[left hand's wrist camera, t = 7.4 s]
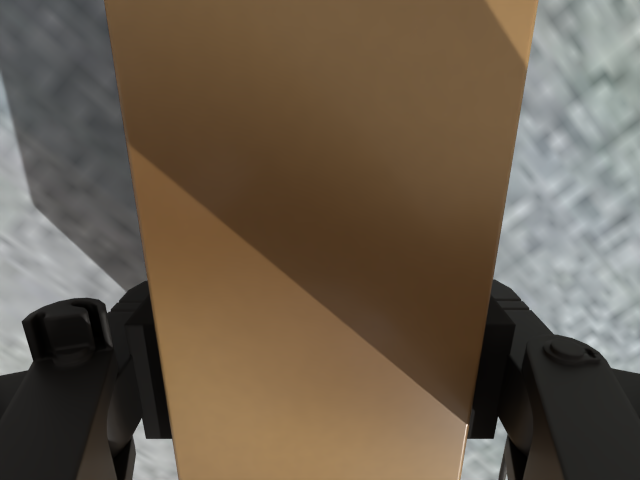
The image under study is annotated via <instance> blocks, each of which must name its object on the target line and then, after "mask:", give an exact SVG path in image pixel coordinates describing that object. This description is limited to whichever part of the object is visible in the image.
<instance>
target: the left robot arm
mask: <svg viewBox="0 0 640 480" xmlns="http://www.w3.org/2000/svg"><path fill="white" fill-rule="evenodd" d="M22 324H23V328H24V331H25V335H26V338H27V341H28V345H29V348H30V351H31V355H32V358H33V363H32V365H31V366H30V368H29V370H27V371H23V372H18V373H12V374H7V375H2V376H0V480H132V477H133V470H134V463H135V457H136V451H135V444H134V439H133V433H134V432H135V430H136V428H137V426H138V424H139V422H140V420H141V418H142V420H143V425H144V430H145V436H146V439H172V434H171V427H170V421H169V414H168V408H167V401H166V395H165V389H164V382H163V376H162V369H161V363H160V356H159V350H158V344H157V337H156V331H155V324H154V318H153V312H152V305H151V299H150V292H149V286H148V281H144V282H143V283H141V284H139V285H137V286H135V287H134V288H132V289H130V290H129V291H128V292H127V293H126V294H125V295H124V296H123V297H122V298H121V299H120V300H119V303H117V304H116V305H115V306H114V307H113V308H112V309H111V312H108V313H107V311H106V306H105V304H104V303H103V302H101V301H100V300H97V299H92V298H74V299H69V300H63V301H58V302H56V303H53V304H50V305H47V306H44V307H42V308H40V309H38V310H36V311H34V312H32V313H31V314H29V315H28V316H27V317H26V318H25V319H24V320H23V321H22ZM498 417H499V419H500V420H501V422H502V424H503V426H504V428H505V430H506V432H507V433H508V435H507V439H506V444H505V449H504V454H503V458H502V463H501V468H500V473H499V480H505V478H506V474H507V476H508V480H640V374H638V373H633V372H628V371H622V370H617V369H613V368H611V367H610V366H609V364H608V362H607V360H606V359H605V358H604V357H603V356H602V355H601V354H600V353H599V352H598V351H597V350H595V349H593V348H592V347H590V346H589V345H587V344H585V343H583V342H580V341H578V340H575V339H573V338H569V337H565V336H560V335H554V334H553V333H552V332H551V331H550V330H549V329H548V328H547V327H546V325H545V324H544V323H543V322H542V321H541V320H540V319H539V318H538V317H537V316H536V315H535V314H534V313H533V312H532V310H529V307H528V306H527V305H526V304H525V303H524V302H523V301H521V299H520V298H519V297H518V296H517V294H516V293H515V292H514V291H513V290H512V289H511V288H509V287H507V286H505V285H504V284H502V283H500V282H498V281H496V280H493V282H492V288H491V294H490V300H489V306H488V312H487V318H486V325H485V331H484V337H483V343H482V349H481V355H480V361H479V367H478V374H477V380H476V386H475V392H474V398H473V404H472V410H471V416H470V423H469V429H468V435H467V439H494V434H495V429H496V424H497V419H498Z"/></svg>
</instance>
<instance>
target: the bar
mask: <svg viewBox="0 0 640 480" xmlns="http://www.w3.org/2000/svg"><path fill="white" fill-rule="evenodd" d="M104 3H105V10H106V16H107V23H108V29H109V35H110V42H111V48H112V55H113V61H114V68H115V74H116V80H117V87H118V93H119V100H120V106H121V112H122V119H123V125H124V132H125V138H126V145H127V151H128V157H129V164H130V170H131V177H132V183H133V190H134V196H135V202H136V209H137V215H138V222H139V228H140V234H141V241H142V247H143V254H144V260H145V267H146V273H147V279H148V286H149V292H150V299H151V305H152V312H153V318H154V324H155V331H156V337H157V344H158V350H159V356H160V363H161V369H162V376H163V382H164V389H165V395H166V401H167V408H168V414H169V421H170V427H171V434H172V440H173V446H174V453H175V459H176V466H177V472H178V478H179V480H460V478H461V472H462V465H463V459H464V453H465V447H466V441H467V435H468V429H469V423H470V416H471V410H472V404H473V398H474V392H475V386H476V380H477V374H478V367H479V361H480V355H481V349H482V343H483V337H484V331H485V325H486V318H487V312H488V306H489V300H490V294H491V288H492V282H493V276H494V269H495V263H496V257H497V251H498V245H499V239H500V233H501V227H502V220H503V214H504V208H505V202H506V196H507V190H508V184H509V178H510V171H511V165H512V159H513V153H514V147H515V141H516V135H517V129H518V122H519V116H520V110H521V104H522V98H523V92H524V86H525V80H526V73H527V67H528V61H529V55H530V49H531V43H532V37H533V30H534V24H535V18H536V12H537V6H538V0H104Z"/></svg>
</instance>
